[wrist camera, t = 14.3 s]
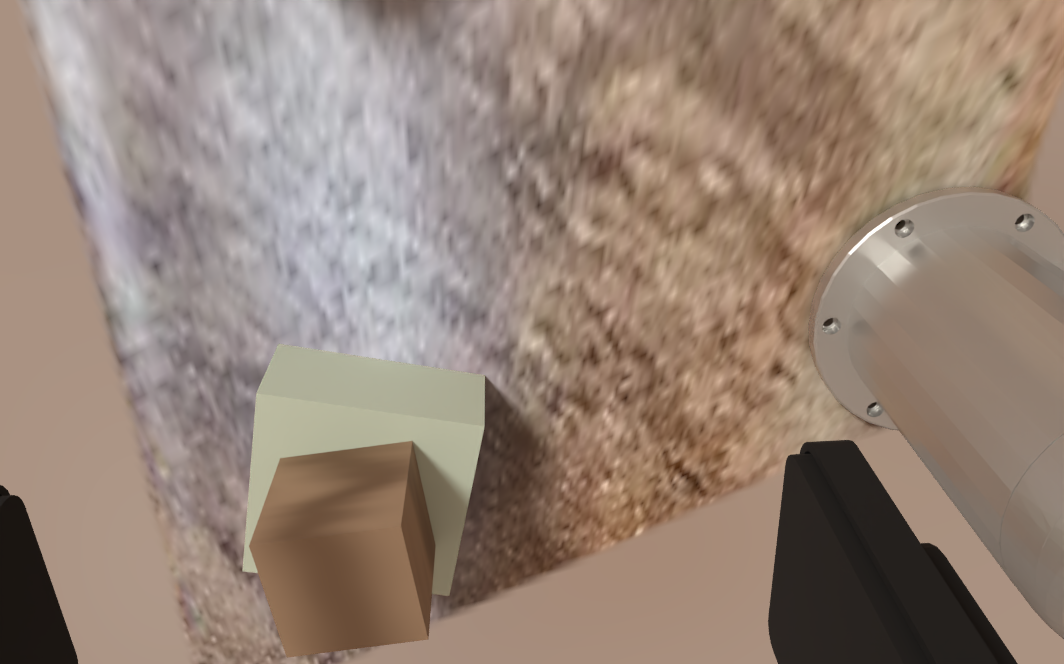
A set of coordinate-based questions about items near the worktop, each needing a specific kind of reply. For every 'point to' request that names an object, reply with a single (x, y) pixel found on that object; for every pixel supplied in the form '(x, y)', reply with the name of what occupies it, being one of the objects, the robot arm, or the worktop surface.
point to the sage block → (372, 430)
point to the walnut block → (346, 550)
